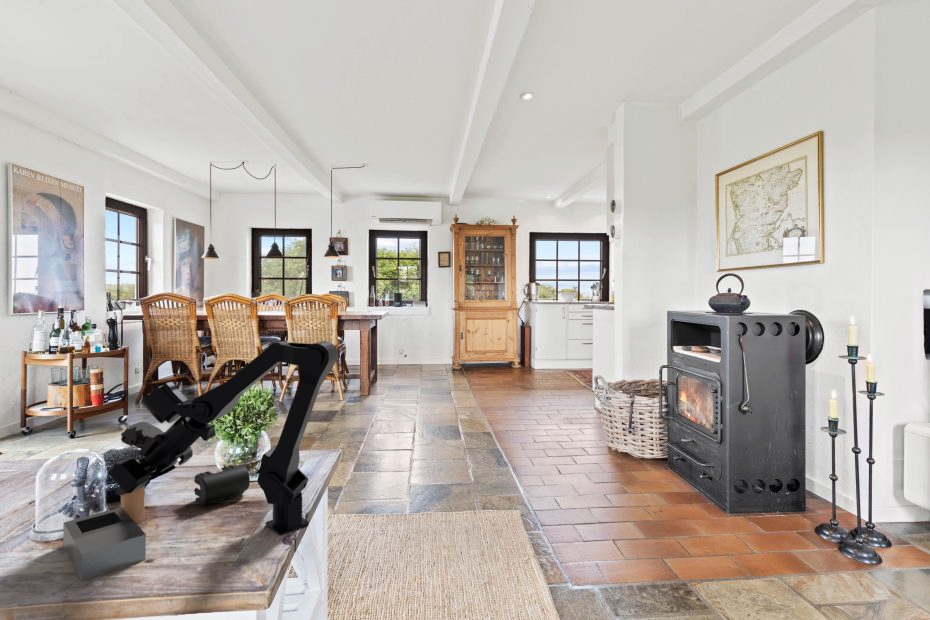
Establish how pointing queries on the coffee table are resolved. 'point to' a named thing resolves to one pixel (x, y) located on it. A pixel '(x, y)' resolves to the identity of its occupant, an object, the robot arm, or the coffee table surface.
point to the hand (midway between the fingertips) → (126, 489)
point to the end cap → (221, 484)
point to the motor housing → (103, 542)
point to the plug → (134, 504)
